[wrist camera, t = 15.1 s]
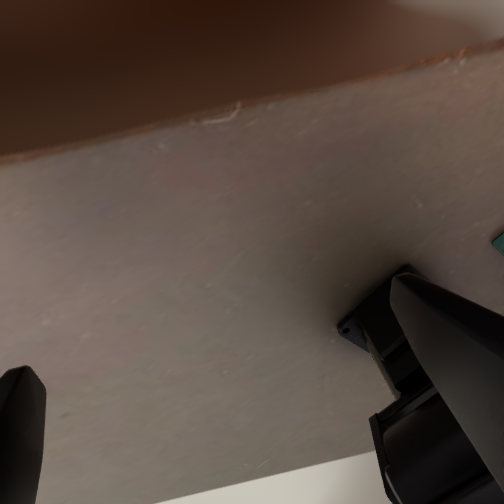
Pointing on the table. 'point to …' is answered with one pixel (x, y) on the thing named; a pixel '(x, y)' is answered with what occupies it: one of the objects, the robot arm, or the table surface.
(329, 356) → the table surface
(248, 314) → the table surface
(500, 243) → the teal button base
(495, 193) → the table surface
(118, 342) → the table surface
